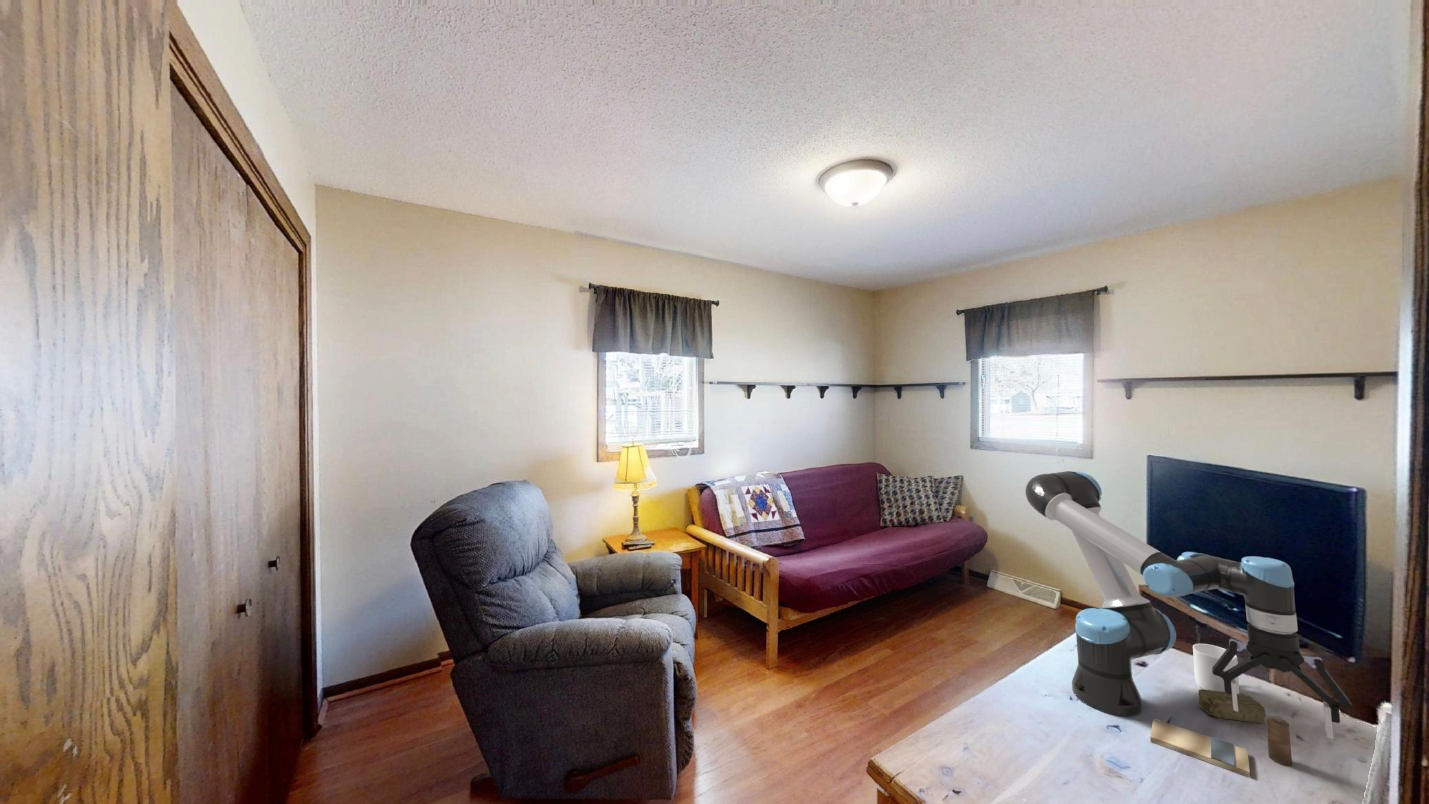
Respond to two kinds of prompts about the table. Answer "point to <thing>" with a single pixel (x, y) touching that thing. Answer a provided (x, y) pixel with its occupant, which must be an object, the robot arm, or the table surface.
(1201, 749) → the flat metallic slab
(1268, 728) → the brown wooden cylinder
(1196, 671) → the mug
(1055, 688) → the table surface
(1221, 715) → the stone block
